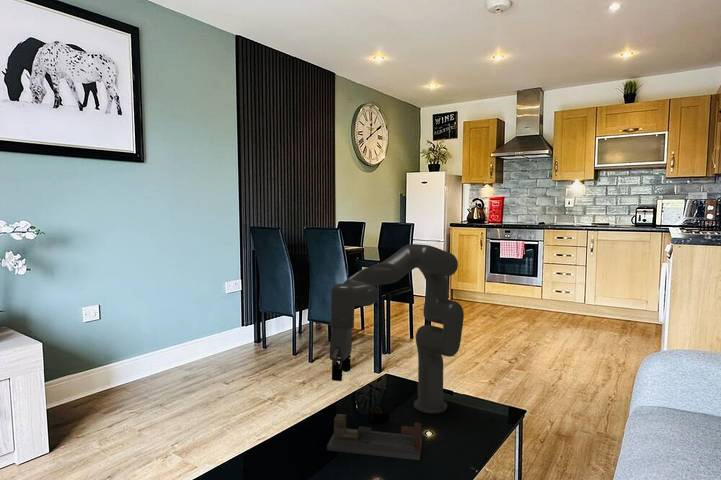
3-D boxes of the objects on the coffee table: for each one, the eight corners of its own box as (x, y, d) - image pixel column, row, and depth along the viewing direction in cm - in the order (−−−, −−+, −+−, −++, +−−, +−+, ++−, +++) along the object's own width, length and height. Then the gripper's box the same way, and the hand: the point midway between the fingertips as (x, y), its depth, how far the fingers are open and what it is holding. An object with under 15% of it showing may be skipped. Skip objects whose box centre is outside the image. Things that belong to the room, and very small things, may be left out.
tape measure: (390, 422, 157) (390, 412, 157) (372, 425, 155) (372, 415, 155) (383, 414, 163) (383, 404, 163) (366, 417, 161) (366, 407, 161)
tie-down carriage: (337, 433, 145) (337, 413, 145) (371, 437, 143) (371, 416, 143) (333, 441, 141) (333, 420, 140) (369, 445, 138) (368, 423, 138)
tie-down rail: (335, 434, 148) (335, 410, 148) (421, 443, 142) (421, 417, 142) (327, 450, 138) (326, 423, 138) (419, 460, 133) (419, 433, 132)
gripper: (338, 316, 150) (337, 365, 151) (322, 328, 133) (321, 383, 134) (360, 318, 148) (359, 368, 149) (346, 329, 131) (345, 386, 132)
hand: (341, 375), depth 141 cm, fingers open, 9 cm apart
